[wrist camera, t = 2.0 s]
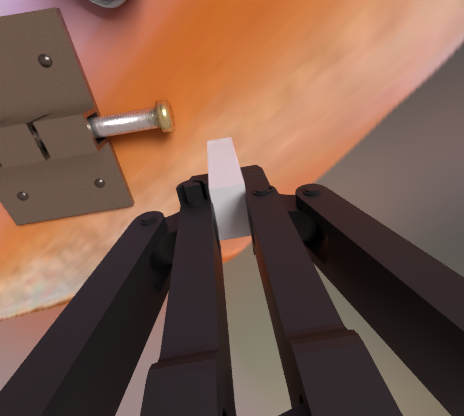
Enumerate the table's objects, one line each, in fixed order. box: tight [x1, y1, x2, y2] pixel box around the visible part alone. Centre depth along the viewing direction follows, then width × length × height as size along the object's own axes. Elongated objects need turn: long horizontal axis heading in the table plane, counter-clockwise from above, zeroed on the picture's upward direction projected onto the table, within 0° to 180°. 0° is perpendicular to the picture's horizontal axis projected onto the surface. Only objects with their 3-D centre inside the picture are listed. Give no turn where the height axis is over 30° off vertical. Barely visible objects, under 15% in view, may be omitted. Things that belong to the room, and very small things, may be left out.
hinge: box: [0, 8, 134, 225], centre depth 30 cm, size 16×22×4 cm
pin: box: [32, 99, 175, 147], centre depth 30 cm, size 17×3×3 cm, turn 98°
